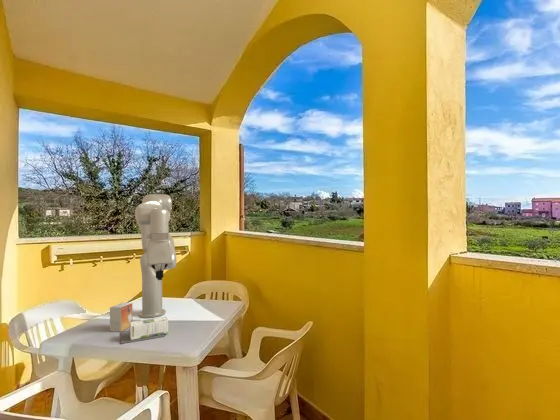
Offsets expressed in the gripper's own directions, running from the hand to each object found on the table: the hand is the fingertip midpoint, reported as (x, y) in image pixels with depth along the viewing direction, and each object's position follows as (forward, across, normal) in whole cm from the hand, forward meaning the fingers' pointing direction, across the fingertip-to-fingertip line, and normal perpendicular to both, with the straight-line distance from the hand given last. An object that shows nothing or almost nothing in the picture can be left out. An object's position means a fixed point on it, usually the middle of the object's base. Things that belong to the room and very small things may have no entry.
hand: (159, 279), depth 138 cm
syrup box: (+19, +3, -4) cm, 19 cm away
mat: (+22, -7, -1) cm, 23 cm away
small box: (+23, -15, +12) cm, 30 cm away
